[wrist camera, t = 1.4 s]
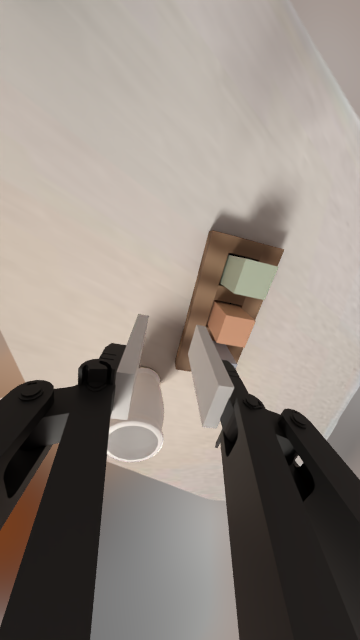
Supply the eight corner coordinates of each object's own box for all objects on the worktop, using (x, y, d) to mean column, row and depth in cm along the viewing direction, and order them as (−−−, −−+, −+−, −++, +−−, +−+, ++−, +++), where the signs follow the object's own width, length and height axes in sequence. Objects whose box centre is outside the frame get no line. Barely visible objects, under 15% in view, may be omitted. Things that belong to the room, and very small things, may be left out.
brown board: (209, 231, 32) (213, 230, 29) (274, 249, 34) (284, 249, 31) (175, 361, 42) (175, 369, 40) (227, 368, 44) (231, 377, 42)
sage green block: (228, 255, 32) (245, 258, 25) (254, 261, 33) (278, 266, 26) (219, 283, 34) (233, 293, 27) (244, 288, 34) (264, 300, 28)
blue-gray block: (202, 338, 38) (210, 360, 31) (224, 342, 39) (237, 364, 32) (196, 358, 40) (202, 382, 33) (217, 361, 41) (228, 386, 34)
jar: (153, 402, 47) (147, 468, 33) (114, 389, 44) (91, 455, 31) (171, 371, 44) (174, 431, 30) (130, 356, 41) (113, 414, 27)
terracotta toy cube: (214, 300, 35) (226, 315, 28) (238, 305, 36) (255, 320, 29) (207, 324, 37) (216, 342, 30) (230, 328, 38) (244, 347, 31)
